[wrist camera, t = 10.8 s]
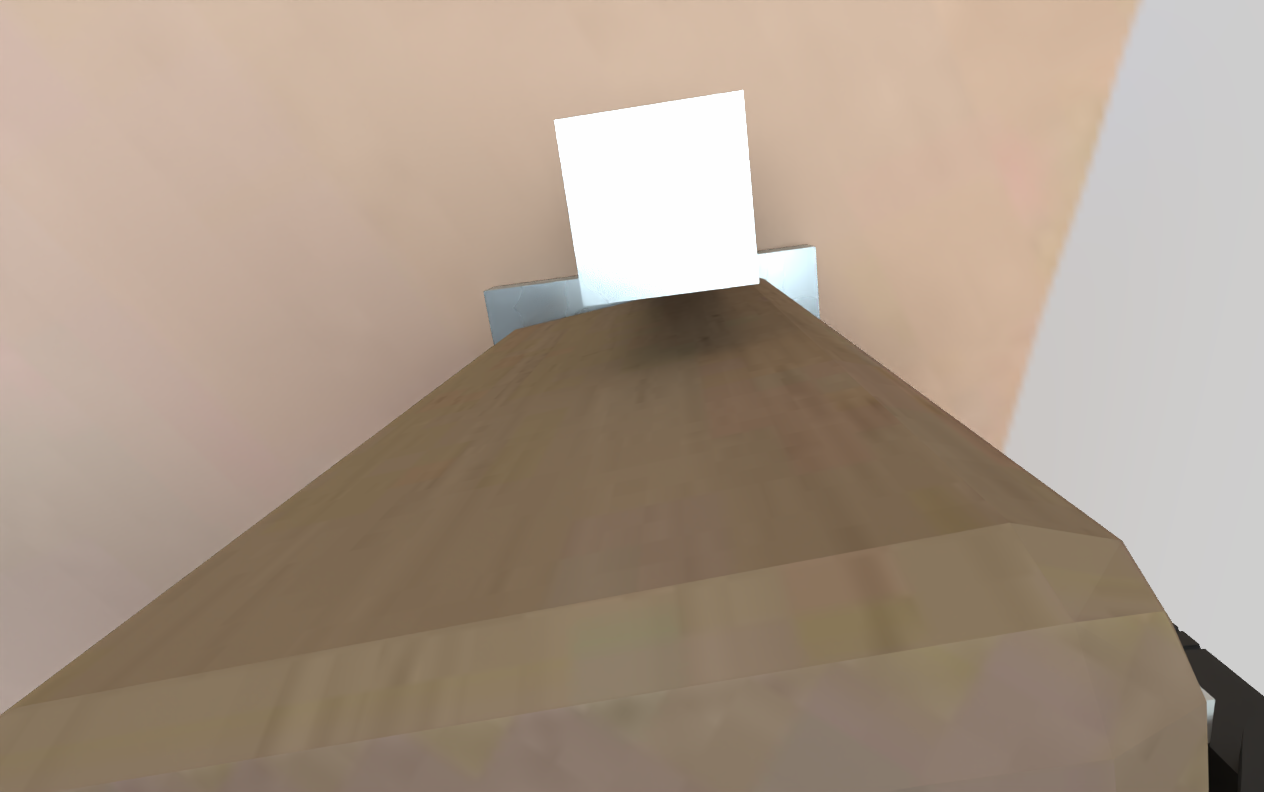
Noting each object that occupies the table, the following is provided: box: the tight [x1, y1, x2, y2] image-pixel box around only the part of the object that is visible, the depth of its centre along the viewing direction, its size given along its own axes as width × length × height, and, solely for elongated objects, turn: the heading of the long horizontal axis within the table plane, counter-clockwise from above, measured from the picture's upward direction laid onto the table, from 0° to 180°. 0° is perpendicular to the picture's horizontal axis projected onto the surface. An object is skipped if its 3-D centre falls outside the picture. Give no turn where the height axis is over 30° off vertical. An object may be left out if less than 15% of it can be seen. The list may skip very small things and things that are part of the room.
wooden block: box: [0, 278, 1209, 792], centre depth 15 cm, size 10×10×20 cm
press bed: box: [484, 90, 820, 345], centre depth 20 cm, size 20×21×14 cm
